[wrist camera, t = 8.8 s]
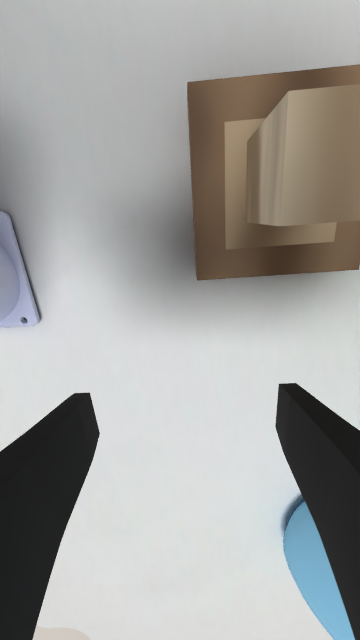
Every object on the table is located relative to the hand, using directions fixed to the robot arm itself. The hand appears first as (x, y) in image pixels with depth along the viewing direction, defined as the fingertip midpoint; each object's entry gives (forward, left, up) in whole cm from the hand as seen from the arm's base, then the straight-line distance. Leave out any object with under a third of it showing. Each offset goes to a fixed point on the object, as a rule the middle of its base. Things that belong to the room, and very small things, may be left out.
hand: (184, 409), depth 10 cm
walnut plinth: (+6, +8, -10) cm, 14 cm away
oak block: (+6, +8, -8) cm, 13 cm away
